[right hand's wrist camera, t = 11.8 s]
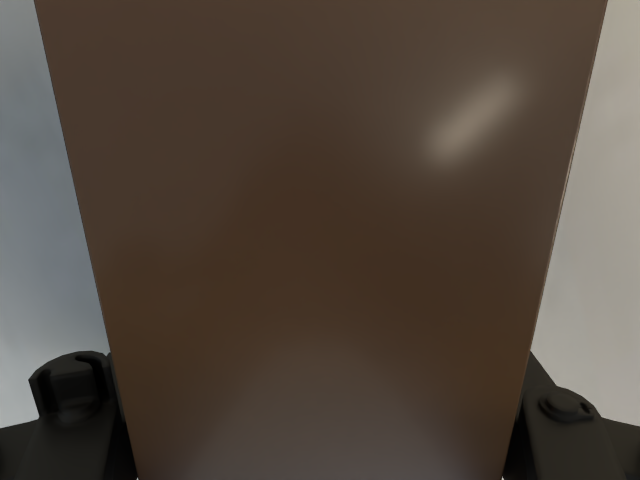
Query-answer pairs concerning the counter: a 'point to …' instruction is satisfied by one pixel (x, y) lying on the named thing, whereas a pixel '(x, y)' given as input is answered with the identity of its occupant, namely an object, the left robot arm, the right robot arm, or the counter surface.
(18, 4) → the counter surface
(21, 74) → the counter surface
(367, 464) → the beam
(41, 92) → the counter surface
